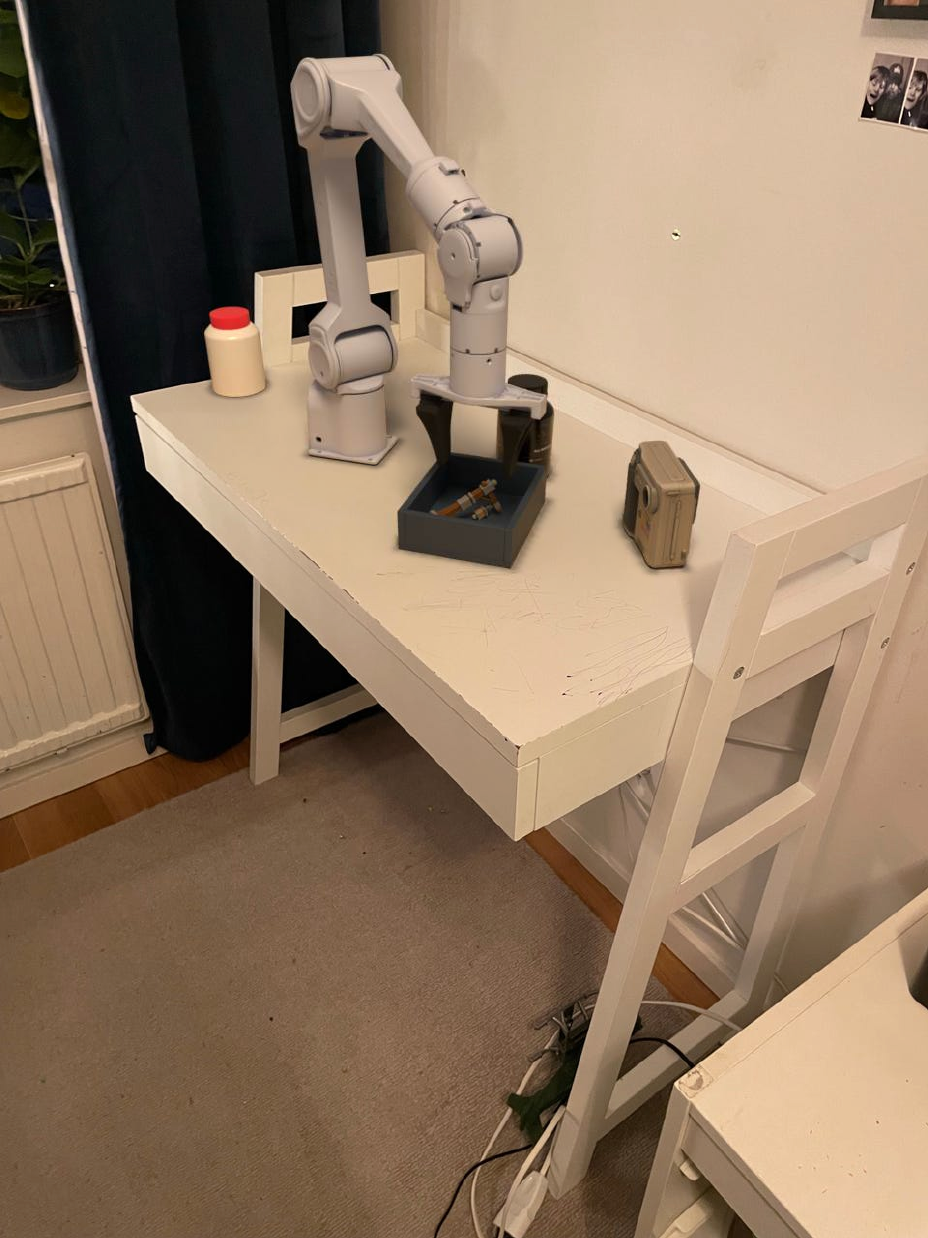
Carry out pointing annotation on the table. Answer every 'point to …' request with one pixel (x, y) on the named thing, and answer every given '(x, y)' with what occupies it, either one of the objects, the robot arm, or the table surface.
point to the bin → (472, 510)
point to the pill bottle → (234, 353)
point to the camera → (660, 504)
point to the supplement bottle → (541, 430)
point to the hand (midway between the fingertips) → (475, 468)
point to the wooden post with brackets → (466, 501)
